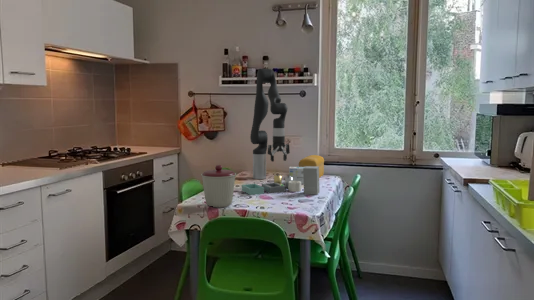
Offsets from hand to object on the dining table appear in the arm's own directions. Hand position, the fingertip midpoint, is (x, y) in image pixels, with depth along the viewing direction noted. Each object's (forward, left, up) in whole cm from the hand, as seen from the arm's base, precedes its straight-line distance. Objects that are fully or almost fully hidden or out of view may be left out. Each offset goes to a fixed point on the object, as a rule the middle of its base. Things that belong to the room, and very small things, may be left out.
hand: (278, 161), depth 267 cm
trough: (+9, -21, -16) cm, 28 cm away
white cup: (+15, +4, -16) cm, 22 cm away
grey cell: (+7, +4, -16) cm, 18 cm away
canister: (+31, -49, -17) cm, 61 cm away
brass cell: (0, 0, -16) cm, 16 cm away
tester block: (+10, -8, -16) cm, 21 cm away
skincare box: (+26, +9, -17) cm, 32 cm away
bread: (-21, +37, -17) cm, 45 cm away
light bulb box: (-4, +16, -17) cm, 23 cm away
